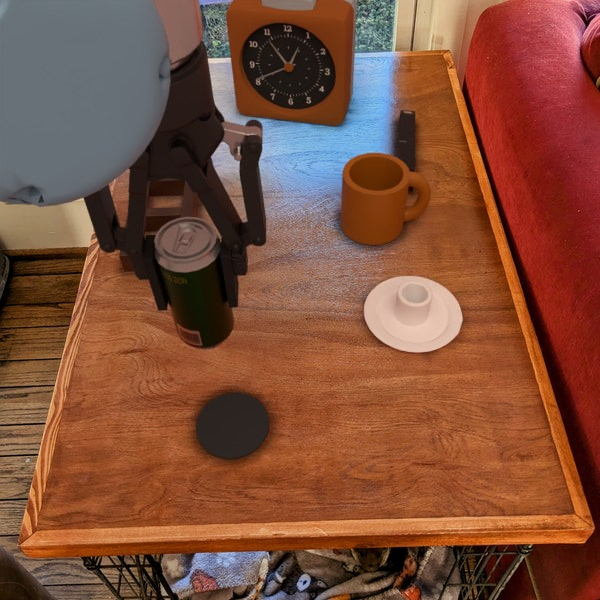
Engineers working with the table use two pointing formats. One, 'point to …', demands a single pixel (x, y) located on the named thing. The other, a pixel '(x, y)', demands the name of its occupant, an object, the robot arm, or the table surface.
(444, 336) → the candle holder
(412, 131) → the black long bar
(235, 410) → the coaster
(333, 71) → the alarm clock
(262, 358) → the table surface
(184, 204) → the can rack
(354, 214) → the mug
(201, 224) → the beer can
